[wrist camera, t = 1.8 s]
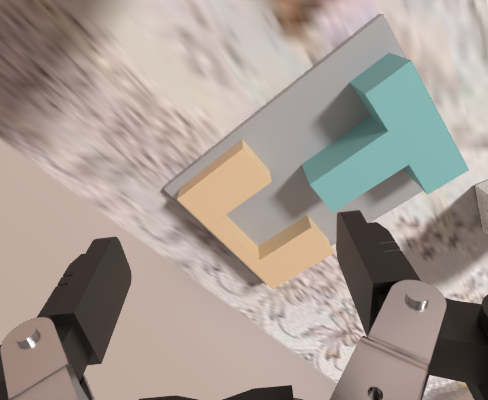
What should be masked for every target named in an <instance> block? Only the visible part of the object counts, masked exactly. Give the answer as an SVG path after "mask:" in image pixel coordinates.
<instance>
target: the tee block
mask: <svg viewBox="0 0 488 400" xmlns="http://www.w3.org/2000/svg"><path fill="white" fill-rule="evenodd" d="M349 83H350V84H351V86H352V87H353V89H354V90H355V92H356V94H357V95H358V97H359V98H360V100H361V102H362V103H363V105H364V106H365V108H366V109H367V111H368V113H369V114H370V116H369V117H368V118H367V119H365V120H364V121H362V122H361V123H359V124H358V125H357V126H355V127H354V128H352V129H351V130H350V131H348V132H347V133H345V134H344V135H343V136H341V137H340V138H338V139H337V140H335V141H334V142H333V143H331V144H330V145H328V146H327V147H326V148H324V149H323V150H321V151H320V152H318V153H317V154H316V155H314V156H313V157H311V158H310V159H309V160H307V161H306V162H304V163H303V164H302V166H303V169H304V172H305V174H306V177H307V179H308V182H309V184H310V186H311V187H312V188H313V189H314V191H315V192H316V193H317V194H318V195H319V197H320V198H321V199H322V200H323V202H324V203H325V204H326V205H327V207H328V208H329V209H330V210H331V212H332V213H333V212H335V211H336V210H338V209H340V208H341V207H343V206H344V205H346V204H347V203H349V202H351V201H352V200H354V199H355V198H357V197H359V196H360V195H362V194H363V193H365V192H366V191H368V190H370V189H371V188H373V187H374V186H376V185H377V184H379V183H381V182H382V181H384V180H385V179H387V178H389V177H390V176H392V175H393V174H395V173H396V172H398V171H400V170H401V169H403V168H404V169H405V171H406V172H407V174H408V175H409V176H410V177H411V178H412V179H413V180H414V181H415V182H416V183H417V184H418V185H419V186H420V187H421V188H422V189H423V190H424V191H425V192H426V193H427V194H429V193H431V192H433V191H434V190H436V189H438V188H440V187H441V186H443V185H445V184H446V183H448V182H450V181H451V180H453V179H455V178H456V177H458V176H460V175H461V174H463V173H465V172H466V171H468V170H469V169H468V167H467V165H466V163H465V161H464V159H463V158H462V156H461V154H460V152H459V150H458V148H457V146H456V144H455V142H454V140H453V139H452V137H451V135H450V133H449V131H448V129H447V127H446V125H445V123H444V122H443V120H442V118H441V116H440V114H439V112H438V110H437V108H436V106H435V104H434V103H433V101H432V99H431V97H430V95H429V93H428V91H427V89H426V87H425V86H424V84H423V82H422V80H421V78H420V76H419V74H418V72H417V70H416V69H415V67H414V65H413V63H412V61H411V60H409V59H406V58H403V57H400V56H397V55H394V54H392V53H388V54H386V55H385V56H384V57H382V58H381V59H380V60H378V61H377V62H376V63H374V64H373V65H372V66H370V67H369V68H368V69H366V70H365V71H364V72H362V73H361V74H360V75H358V76H357V77H356V78H354V79H353V80H352V81H350V82H349Z"/></svg>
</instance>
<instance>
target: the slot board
mask: <svg viewBox="0 0 488 400" xmlns="http://www.w3.org/2000/svg"><path fill="white" fill-rule="evenodd" d="M388 53H392V54H394V55H397V56H400V57H403V58H406V56H405V55H404V53H403V51H402V49H401V47H400V45H399V43H398V41H397V40H396V38H395V36H394V34H393V32H392V30H391V28H390V26H389V25H388V23H387V21H386V19H385V17H384V15H383V14H378V15H377V16H376V17H374V18H373V19H372V20H371V21H369V22H368V23H367V24H366V25H364V26H363V27H362V28H361V29H359V30H358V31H357V32H356V33H354V34H353V35H352V36H351V37H349V38H348V39H347V40H346V41H344V42H343V43H342V44H341V45H339V46H338V47H337V48H336V49H334V50H333V51H332V52H331V53H329V54H328V55H327V56H326V57H324V58H323V59H322V60H321V61H319V62H318V63H317V64H316V65H314V66H313V67H312V68H311V69H309V70H308V71H307V72H306V73H304V74H303V75H302V76H301V77H299V78H298V79H297V80H296V81H294V82H293V83H292V84H291V85H289V86H288V87H287V88H286V89H284V90H283V91H282V92H281V93H279V94H278V95H277V96H276V97H274V98H273V99H272V100H271V101H269V102H268V103H267V104H266V105H264V106H263V107H262V108H261V109H259V110H258V111H257V112H256V113H254V114H253V115H252V116H251V117H249V118H248V119H247V120H246V121H244V122H243V123H242V124H241V125H239V126H238V127H237V128H236V129H234V130H233V131H232V132H231V133H229V134H228V135H227V136H226V137H224V138H223V139H222V140H221V141H219V142H218V143H217V144H216V145H214V146H213V147H212V148H211V149H209V150H208V151H207V152H206V153H204V154H203V155H202V156H201V157H199V158H198V159H197V160H196V161H194V162H193V163H192V164H191V165H189V166H188V167H187V168H186V169H184V170H183V171H182V172H181V173H179V174H178V175H177V176H176V177H174V178H173V179H172V180H171V181H169V182H168V183H167V184H166V185H165V187H164V190H165V191H166V192H167V193H168V194H169V195H170V196H171V197H172V198H173V199H175V200H176V201H177V202H178V203H179V204H180V205H181V206H182V207H183V208H184V209H185V210H186V211H187V212H188V213H189V214H191V215H192V216H193V217H194V218H195V219H196V220H197V221H198V222H199V223H200V224H201V225H202V226H203V227H204V228H205V229H207V230H208V231H209V232H210V233H211V234H212V235H213V236H214V237H215V238H216V239H217V240H218V241H219V242H220V243H221V244H223V245H224V246H225V247H226V248H227V249H228V250H229V251H230V252H231V253H232V254H233V255H234V256H235V257H236V258H238V259H239V260H240V261H241V262H242V263H243V264H244V265H245V266H246V267H247V268H248V269H249V270H250V271H251V272H252V273H254V274H255V275H256V276H257V277H258V278H259V279H260V280H261V281H262V282H263V283H264V284H265V285H268V286H269V287H270V288H272V289H274V288H275V287H277V286H279V285H281V284H282V283H284V282H286V281H287V280H289V279H291V278H292V277H294V276H296V275H297V274H299V273H301V272H303V271H304V270H306V269H308V268H309V267H311V266H313V265H314V264H316V263H318V262H319V261H321V260H323V259H324V258H326V257H328V256H330V255H331V254H333V253H334V252H333V250H332V247H331V246H332V245H333V244H335V243H336V231H337V213H338V212H346V211H354V210H360V211H361V213H362V215H363V216H364V218H365V220H366V222H367V223H370V222H372V221H373V220H375V219H377V218H378V217H380V216H382V215H383V214H385V213H387V212H388V211H390V210H392V209H393V208H395V207H397V206H398V205H400V204H402V203H403V202H405V201H407V200H408V199H410V198H412V197H413V196H415V195H417V194H418V193H420V192H422V191H423V189H422V188H421V187H420V186H419V185H418V184H417V183H416V182H415V181H414V180H413V179H412V178H411V177H410V176H409V175H408V174H407V172H406V171H405V169H404V168H403V169H401V170H400V171H398V172H396V173H395V174H393V175H392V176H390V177H389V178H387V179H385V180H384V181H382V182H381V183H379V184H377V185H376V186H374V187H373V188H371V189H370V190H368V191H366V192H365V193H363V194H362V195H360V196H359V197H357V198H355V199H354V200H352V201H351V202H349V203H347V204H346V205H344V206H343V207H341V208H340V209H338V210H336V211H335V212H333V213H332V212H331V210H330V209H329V208H328V207H327V205H326V204H325V203H324V202H323V200H322V199H321V198H320V197H319V195H318V194H317V193H316V192H315V191H314V189H313V188H312V187H311V186H310V184H309V182H308V179H307V177H306V174H305V172H304V169H303V166H302V164H303V163H304V162H306V161H307V160H309V159H310V158H311V157H313V156H314V155H316V154H317V153H318V152H320V151H321V150H323V149H324V148H326V147H327V146H328V145H330V144H331V143H333V142H334V141H335V140H337V139H338V138H340V137H341V136H343V135H344V134H345V133H347V132H348V131H350V130H351V129H352V128H354V127H355V126H357V125H358V124H359V123H361V122H362V121H364V120H365V119H367V118H368V117H369V116H370V114H369V113H368V111H367V109H366V108H365V106H364V105H363V103H362V102H361V100H360V98H359V97H358V95H357V94H356V92H355V90H354V89H353V87H352V86H351V84H350V83H349V82H350V81H352V80H353V79H354V78H356V77H357V76H358V75H360V74H361V73H362V72H364V71H365V70H366V69H368V68H369V67H370V66H372V65H373V64H374V63H376V62H377V61H378V60H380V59H381V58H382V57H384V56H385V55H386V54H388ZM406 59H407V58H406Z"/></svg>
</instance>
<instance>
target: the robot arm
mask: <svg viewBox="0 0 488 400" xmlns="http://www.w3.org/2000/svg"><path fill="white" fill-rule="evenodd" d="M336 250H337V257H338V262H339V265H340V267H341V270H342V273H343V275H344V278H345V280H346V283H347V286H348V288H349V291H350V294H351V296H352V299H353V301H354V304H355V307H356V309H357V312H358V315H359V317H360V320H361V322H362V325H363V328H364V330H365V333H366V336H367V337H365V336H362V337H361V339H360V340H359V342H358V344H357V346H356V348H355V350H354V352H353V354H352V356H351V358H350V360H349V362H348V364H347V366H346V368H345V370H344V372H343V374H342V376H341V378H340V380H339V382H338V384H337V386H336V388H335V390H334V392H333V394H332V396H331V399H330V400H422V399H423V395H424V392H425V389H426V385H427V382H428V378H429V375H432V376H437V377H442V378H447V379H451V380H456V381H461V382H465V383H466V385H467V386H468V388H469V390H470V392H471V394H472V396H473V398H474V400H488V295H487V296H485V297H484V299H483V301H482V304H475V303H468V302H461V301H455V300H450V299H447V298H445V297H444V296H443V294H442V293H441V292H440V291H439V290H438V289H436V288H435V287H433V286H432V285H430V284H428V283H425V282H422V281H421V280H420V279H419V277H418V276H417V274H416V273H415V271H414V269H413V268H412V266H411V265H410V263H409V262H408V260H407V259H406V257H405V256H404V254H403V252H402V251H400V248H399V246H398V245H397V243H396V242H395V240H394V238H393V237H392V235H391V234H390V232H389V231H388V230H387V229H386V228H384V227H383V226H381V225H380V224H378V223H377V222H374V223H367V222H366V220H365V218H364V216H363V215H362V213H361V211H360V210H354V211H346V212H338V213H337V231H336ZM130 284H131V270H130V267H129V264H128V262H127V259H126V257H125V254H124V251H123V249H122V246H121V244H120V241H119V239H118V238H117V237H109V238H100V239H95V240H93V242H92V243H91V245H90V247H89V248H88V250H87V252H86V254H81V255H80V256H79V257H78V258H77V259H75V260H74V261H73V262H72V263H71V264H70V265H69V267H68V268H67V270H66V271H65V273H64V275H63V277H62V278H61V279H60V281H59V283H58V286H57V287H56V288H55V289H54V291H53V292H52V294H51V296H50V297H49V299H48V301H47V302H46V304H45V305H44V307H43V308H42V310H41V312H40V313H39V315H38V316H37V318H34V319H31V320H28V321H26V322H24V323H22V324H20V325H19V326H18V327H16V328H15V329H14V330H12V331H11V332H10V333H9V334H8V335H7V336H6V338H5V339H4V341H3V343H2V345H0V400H95V398H94V396H93V394H92V391H91V389H90V386H89V384H88V381H87V379H86V377H85V376H84V371H85V369H86V366H87V365H93V364H101V363H102V361H103V358H104V355H105V352H106V349H107V347H108V344H109V341H110V339H111V336H112V333H113V330H114V328H115V325H116V323H117V320H118V317H119V314H120V311H121V309H122V306H123V304H124V301H125V298H126V296H127V293H128V290H129V287H130ZM139 400H197V399H191V398H186V397H181V396H166V397H155V398H144V399H139ZM223 400H302V399H297V398H293V391H292V385H289V386H278V387H268V388H256V389H251V390H249V391H246V392H243V393H240V394H237V395H235V396H232V397H229V398H226V399H223Z"/></svg>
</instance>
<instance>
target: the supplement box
mask: <svg viewBox="0 0 488 400" xmlns="http://www.w3.org/2000/svg"><path fill="white" fill-rule="evenodd" d="M475 191H476V197H477V202H478V207H479V213H480V219H481V224H482V229H483V232H484V233H485V234H486V235H488V180H487V181H484V182H482V183H479V184H477V185H475Z"/></svg>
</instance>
